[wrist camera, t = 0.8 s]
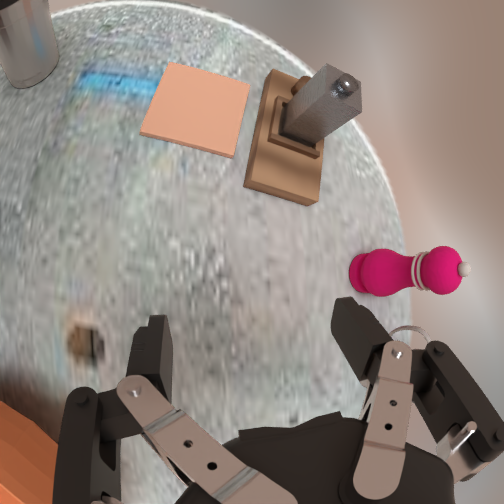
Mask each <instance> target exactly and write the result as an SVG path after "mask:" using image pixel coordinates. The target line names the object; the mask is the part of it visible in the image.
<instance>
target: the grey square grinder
mask: <svg viewBox="0 0 504 504" xmlns="http://www.w3.org/2000/svg"><path fill="white" fill-rule="evenodd" d="M361 102H362V101H361V82H360V81H358V80H356V79H355V78H354V77H353V76H351V75H349V74H347V73H344V72H342V71H340V70H338V69H337V68H335V67H333V66H331V65H329V64H325V65H324V66H323V67H322V68H321V69H320V70H319V71H318V72H317V73H316V74H315V75H314V76H313V77H312V78H311V79H310V80H309V81H308V82H307V83H306V84H305V85H304V86H303V87H302V88H301V89H300V90H299V91H298V92H297V93H296V94H295V95H294V97H293V98H292V99H291V100H290V101H289V102H288V103H287V104H286V105H285V106H284V107H283V108H282V110H281V116H280V122H279V129H278V135H279V136H282V137H284V138H287V139H290V140H292V141H295V142H297V143H300V144H302V145H305V146H307V147H312V146H313V145H314V144H316V143H317V142H319V141H320V140H322V139H323V138H324V137H326V136H327V135H329V134H330V133H332V132H333V131H335V130H336V129H338V128H339V127H340V126H342V125H343V124H345V123H346V122H348V121H349V120H351V119H352V118H354V117H355V116H357V115H358V114H360V113H361V112H362V103H361Z"/></svg>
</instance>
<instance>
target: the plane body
mask: <svg viewBox="0 0 504 504" xmlns="http://www.w3.org/2000/svg"><path fill="white" fill-rule="evenodd" d="M310 79H311V77H308V76H302V77H301V78H300V79H297V78H294V77H292V76H290V75H287V74H285V73H283V72H280V71H278V70H275V69H272V70H271V72H270V73H269V74H268V76H267V77H266V79H265V83H264V87H263V92H262V97H261V102H260V106H259V111H258V116H257V121H256V125H255V130H254V135H253V140H252V145H251V150H250V155H249V160H248V165H247V170H246V175H245V180H244V186H243V187H246V188H249V189H253V190H256V191H260V192H263V193H266V194H270V195H273V196H276V197H279V198H283V199H286V200H289V201H292V202H296V203H299V204H302V205H305V206H309V205H311V204H314V203H316V202H318V200H319V190H320V181H321V170H322V159H323V147H324V138H323V139H322V140H320V141H319V142H317V143H316V144H314V145H313V146H312V147H307V146H305V145H302V144H300V143H297V142H295V141H292V140H290V139H287V138H284V137H282V136H279V135H278V129H279V122H280V116H281V110H282V108H283V107H284V106H285V105H286V104H287V103H288V102H289V101H290V100H291V99H292V98H293V97H294V95H295V94H296V93H297V92H298V91H299V90H300V89H301V88H302V87H303V86H304V85H305V84H306V83H307V82H308V81H309V80H310Z"/></svg>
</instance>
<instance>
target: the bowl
mask: <svg viewBox="0 0 504 504" xmlns="http://www.w3.org/2000/svg"><path fill="white" fill-rule="evenodd" d="M57 450H58V444H57V443H56V442H55V441H53V440H52V439H51V438H50V437H49V436H48V435H47V434H46V433H45V432H44V431H43V430H42V429H41V428H40V427H38V426H37V425H36V424H35V423H34V422H33V421H32V420H30V419H28V418H27V417H25V416H23V415H22V414H20V413H19V412H17V411H15V410H14V409H12V408H11V407H9V406H8V405H6V404H5V403H4V402H2V401H0V504H52V497H53V484H54V473H55V465H56V457H57Z"/></svg>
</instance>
